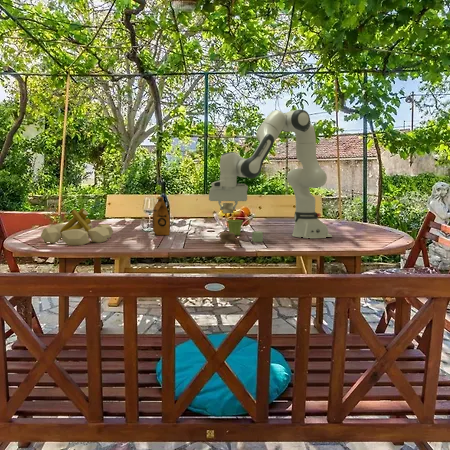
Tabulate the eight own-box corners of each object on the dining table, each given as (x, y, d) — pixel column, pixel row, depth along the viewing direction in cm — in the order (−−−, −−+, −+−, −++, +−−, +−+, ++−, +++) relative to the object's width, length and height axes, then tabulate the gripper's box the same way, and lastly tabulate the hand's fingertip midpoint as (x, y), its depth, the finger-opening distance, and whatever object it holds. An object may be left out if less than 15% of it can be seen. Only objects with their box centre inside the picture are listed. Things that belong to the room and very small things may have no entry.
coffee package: (153, 236, 233) (153, 197, 230) (152, 232, 245) (151, 196, 242) (171, 235, 235) (170, 197, 232) (168, 232, 247) (168, 196, 244)
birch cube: (232, 212, 218) (232, 203, 217) (233, 213, 213) (233, 203, 212) (222, 212, 217) (222, 203, 217) (223, 213, 212) (223, 203, 212)
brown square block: (233, 240, 220) (233, 232, 220) (234, 242, 214) (234, 234, 213) (220, 240, 220) (220, 232, 219) (221, 242, 213) (221, 234, 213)
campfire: (124, 237, 227) (123, 207, 225) (88, 248, 195) (87, 212, 193) (70, 234, 237) (69, 205, 235) (27, 244, 204) (25, 210, 202)
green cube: (261, 240, 221) (261, 231, 220) (262, 241, 216) (263, 232, 215) (252, 240, 220) (252, 231, 220) (253, 241, 215) (253, 232, 215)
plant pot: (223, 235, 237) (224, 220, 236) (231, 233, 245) (231, 219, 244) (238, 236, 233) (238, 221, 232) (245, 234, 241) (245, 220, 240)
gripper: (247, 183, 217) (246, 209, 219) (208, 183, 215) (208, 209, 217) (248, 183, 211) (248, 210, 212) (209, 183, 209) (208, 210, 211)
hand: (227, 209), depth 215 cm, fingers closed on birch cube, 5 cm apart
